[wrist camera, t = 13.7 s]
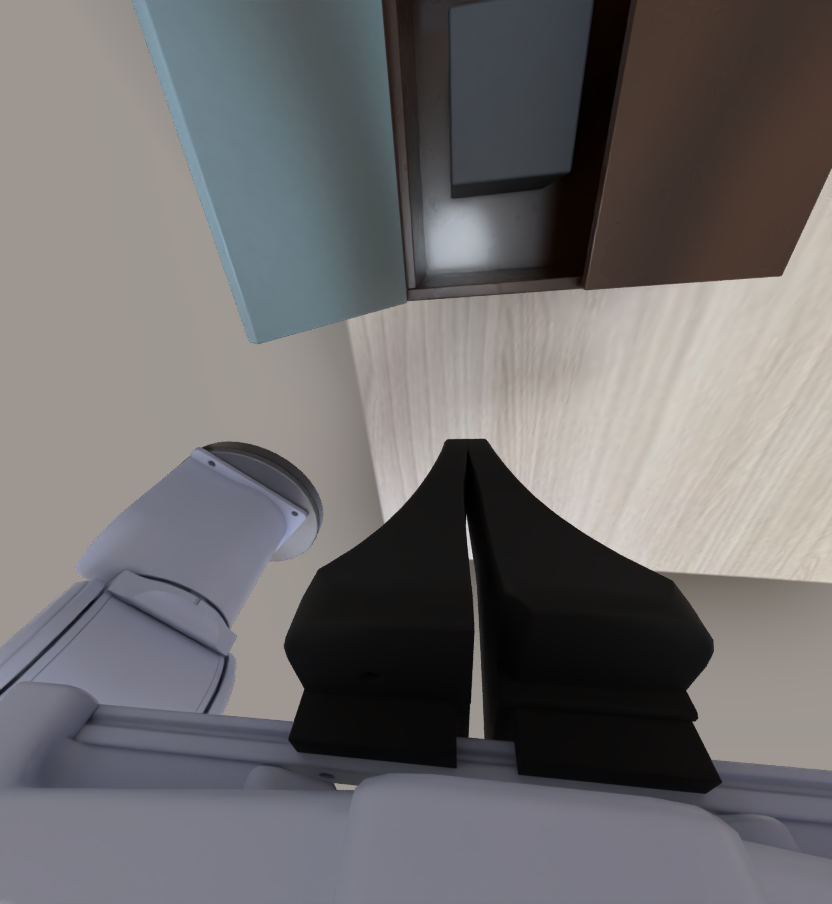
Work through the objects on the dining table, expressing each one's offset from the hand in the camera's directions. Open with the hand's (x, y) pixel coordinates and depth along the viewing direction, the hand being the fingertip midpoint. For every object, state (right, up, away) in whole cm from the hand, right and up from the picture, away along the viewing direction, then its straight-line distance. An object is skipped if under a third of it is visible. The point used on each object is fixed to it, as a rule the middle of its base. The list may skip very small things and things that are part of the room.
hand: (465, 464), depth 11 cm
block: (+2, +14, +2) cm, 14 cm away
